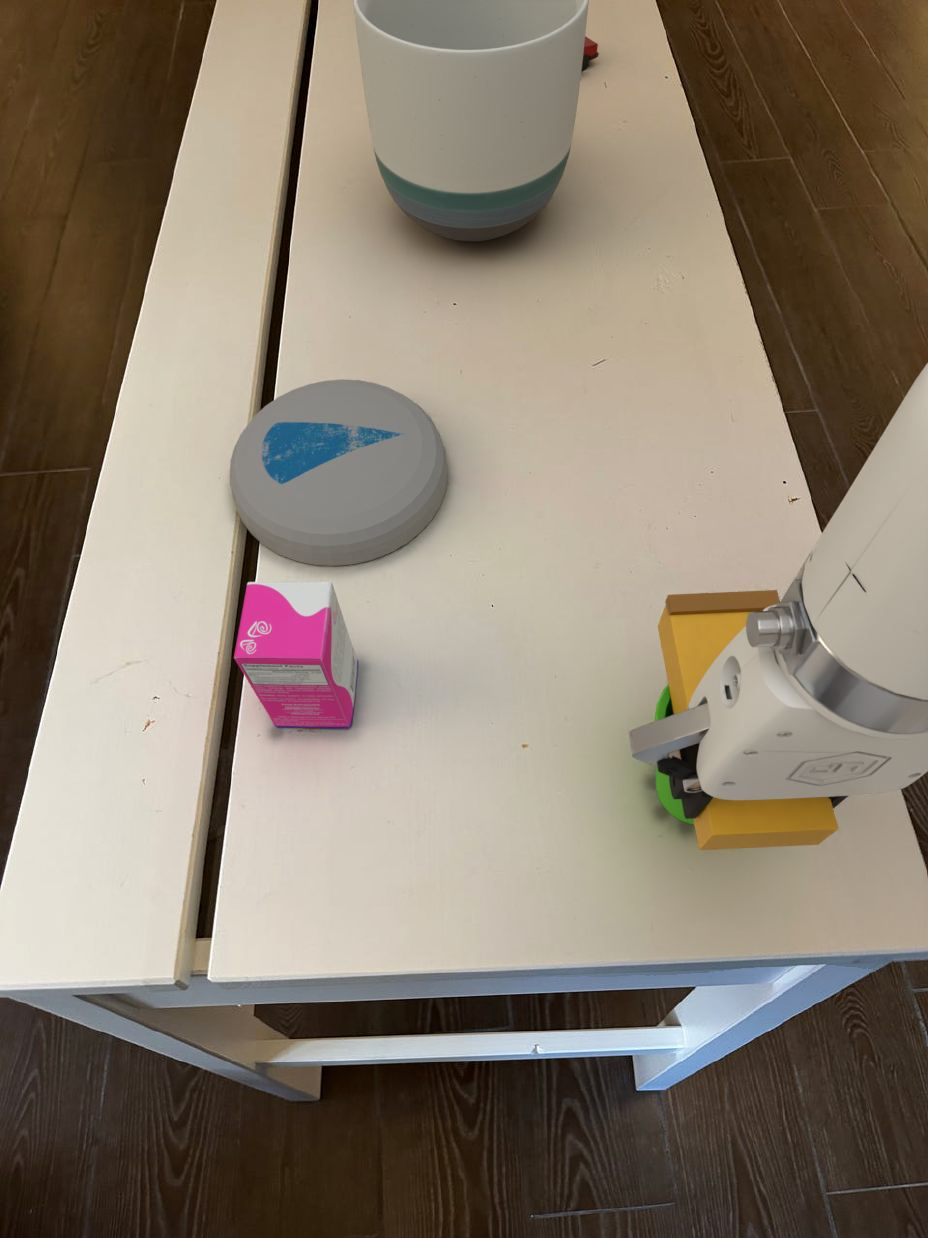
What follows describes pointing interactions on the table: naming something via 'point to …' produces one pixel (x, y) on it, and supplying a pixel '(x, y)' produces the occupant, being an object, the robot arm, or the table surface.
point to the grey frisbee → (338, 472)
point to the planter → (471, 106)
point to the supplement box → (298, 654)
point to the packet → (689, 649)
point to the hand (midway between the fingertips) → (750, 788)
